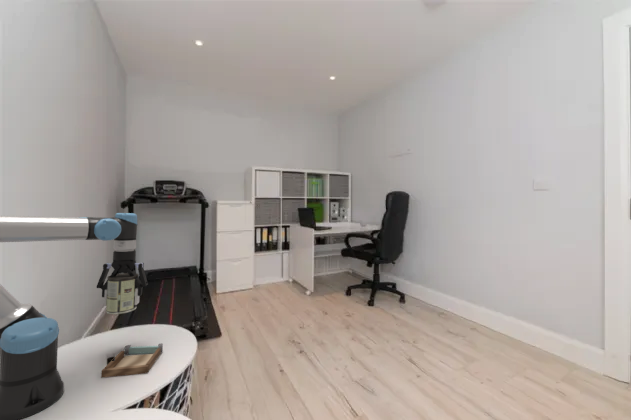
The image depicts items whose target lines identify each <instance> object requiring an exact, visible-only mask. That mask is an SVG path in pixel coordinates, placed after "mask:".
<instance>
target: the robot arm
mask: <svg viewBox="0 0 631 420" xmlns="http://www.w3.org/2000/svg"><path fill="white" fill-rule="evenodd" d="M137 231H138V215H137V213H133V212H131V213H130V212H128V213H127V212H117V213H115V214H114V217H98V216H97V217H96V216H95V217H94V216H93V217H92V216H86V217H85V216H84V217H80V216H78V217H66V216H65V217H61V216H60V217H59V216H29V215H28V216H24V215H23V216H21V215H0V243H22V242H23V243H30V242H52V241H53V242H59V241H60V242H61V241H62V242H63V241H64V242H65V241H66V242H67V241H98V240H99V241H103V242H104V241H112V240H113V250H114V251H113V252H112V263H110V262H107V263H104V264H103V265H102V271H101V274H100V276H99V279H98V282H97V284H96V289H101V298H104V299H103V307H107V286H108V279H107V277H108V274H109V272H110V269H111V268H113V271H112V273H111V274H110V275H109V276H110V277H114V276H116V275H117V274H122V273H128V274H129V275H130V276H132V277H133V276H136V275H137V274H138V276H139V277H140V278H139V277H138V278H135V284H136V286H137V288H136V289H135V305H138V304H139V303H140V298H141V297H140V296H142V295H143V288H145V287H146V286H147V285H149V283H148V279H147V276H146V272H145V268H144V267H145V263H144V262H136V261H137V260H136V253H137V252H136V249H137V233H138V232H137ZM135 267H136V268H137V270H138V273H137V272H136V270H135V269H134V268H135ZM59 333H60V327H59V322H58V321H57V320H56V319H54V318H52V317H48V316H46V315H45V314H43V313H41V312H39V311H38V310H37V309H36V308H35V306H33V305H32V304H31V303H21V302H20V301H19V300H17V298H15V296H13V294H11V293H10V292H9V291H8V290H7V289H6V288H5V287H4V286H3V285H2V284H1V283H0V420H16V419H19V420H21V419H25V418H27V417H30V416H33V415H35V414H38V413H39V412H41V411H43V410H45V409H46V408H47V409H48V408H49V407H50V406H52V405H53V404H54V403H56V402H57V401H58V400H59V399H60V398H61V397H62V396H63V394H64V391H65V383H64V381H63V380H62V377H61V374H60V373H59V370H58V350H59V349H58V348H59V345H58V343H59Z"/></svg>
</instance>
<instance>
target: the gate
mask: <svg viewBox="0 0 631 420" xmlns="http://www.w3.org/2000/svg"><path fill="white" fill-rule="evenodd" d="M163 345H164V344H163V343H158V345H143V346H142V345H141V346H140V345H139V346H131V344H127V345H125V346H124V350H123V351H124V356H129V355H144V354H154V353H155V351H156V350H157V349H158V348H161V354H162V353H163Z"/></svg>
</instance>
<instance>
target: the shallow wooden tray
mask: <svg viewBox="0 0 631 420" xmlns="http://www.w3.org/2000/svg"><path fill="white" fill-rule="evenodd" d="M161 354H162V353H161V348H158V349H157V350H156V351H155V353H145V354H130V355H125V354H124V350H121V351H119V352H118V354H116V356H115V357H114V358H115V361H112V360H111V361H110V362H108V363H107V365H106V366H104V368H102V369H101V373H100V374H101V376H100V378H101V379H103V378H111V377H113V378H114V377H122V376H131V375H132V376H134V375H142V374H148V373H149V372H150V370H151V369H152V367H154V365H155V363H156V362H157V360H158V359H159V357H160V356H161Z"/></svg>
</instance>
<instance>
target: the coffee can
mask: <svg viewBox="0 0 631 420" xmlns="http://www.w3.org/2000/svg"><path fill="white" fill-rule="evenodd" d="M136 274H137V275H136V276H133V277H132V276H130V275H129V274H128V273H118V274H117V275H116V276H114V277H110V276H111V275H109V276H108V275H107V277H106V279H107V280H108V286H107V306H106V308H105V309H106V310H105V313H106V314H107V315H122V314H127V313H130V312H133V311H135V310H136V309H137V305H138V304H137V305H135V289H136V288H137V286H136V284H135V278H139V273H136Z"/></svg>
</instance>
